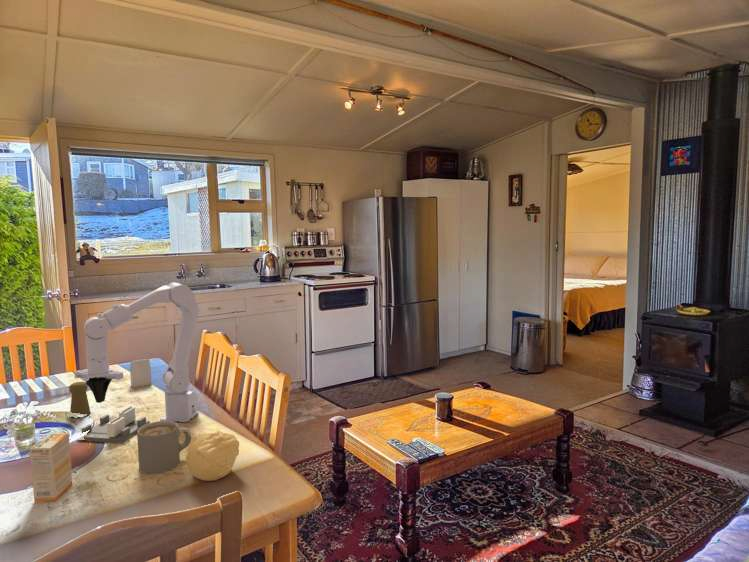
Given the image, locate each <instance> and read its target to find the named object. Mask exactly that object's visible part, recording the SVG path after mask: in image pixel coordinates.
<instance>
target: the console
mask: <svg viewBox="0 0 749 562" xmlns="http://www.w3.org/2000/svg"><path fill="white" fill-rule="evenodd" d="M114 419H115V418H111V417H110V414H105V415H103V416H101V417H99V423H98V424H97V425H95V426H93V425H92V424H86V425H84V426H83V427H82V428H80V429H81V430H80V431H81V434H82V433H83V432H86V431H88V430H90V431H89V432H88V433H87V435H86V436H84V439H85V440H89V441H88V442H95V443H110V444H111V443H112V444H123V443H124V442H126V441H127V440H129V439H130V438H132V437H134V436H135V435H136V434H137V430H138V429H139V428H140V427H142V426H143V425H146V424H149V423H151V422H150V420H147V416H141V418H139V419H136V420H134V421H133V422H131V423H129V424H128V425H126V426H125V428H124V429H123V430H121V431H120V434H118V435H117V436H115V437H108V429H107V423H109V422H111V421H112V420H114ZM92 426H93V427H92Z"/></svg>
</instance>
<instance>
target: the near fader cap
mask: <svg viewBox="0 0 749 562" xmlns="http://www.w3.org/2000/svg"><path fill="white" fill-rule="evenodd" d="M124 428H125V418H124V417H121V416H120V417H119V416H117V417H116V418H114V420H112V421H111V422H109V423H107V429H108V437H115V436H117V435H118V434H120V431H121V430H123V429H124Z"/></svg>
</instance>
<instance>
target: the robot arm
mask: <svg viewBox="0 0 749 562" xmlns="http://www.w3.org/2000/svg"><path fill="white" fill-rule="evenodd" d="M158 303H166V304H170V303H172V304H174V305H175V307H177V308H178V309H179V311H180V312H181V316H180V320H179V325H178V329H177V334H176V339H175V344H174V349H173V353H172V358H171V359H170V361H169V363H168V366H167V368H166V370H165V371H164V373H163V375H162V381H163V383H164V384H165V385H166V386H165V389H164V403H165V404H164V408H165V415H164V416H162V417H161V418H160V419H159V421H173V422H177V421H179V422H178V423H188V422H190V421H191V420H192V419H193V418H195V417H196V416H197V415H199V414H200V412H199V411H198V410H199V409H198V395H197V393H196V392H195V391H193V390H190V389H189V387H190V384H191V383H190V376H189V375H190V374H189V373H190V368H189V360H190V355H191V350H192V348H193V347H192V346H193V341H194V337H195V333H196V328H197V324H198V318H199V313H200V307H199V305H198V302H197V300H196V297H195V292H194V291H193V290H192V289H191V288H190V287H189V286H188V285H185V284H181V283H180V282H178V281H176V282H175V281H174V282H173V281H172V282H169V283H168V284H165V285H162V286H159V287H158V288H156V289H155V290H153V291H151V292H149V293H147V294H145V295H144V296H142V297H140V298H138V299H136V300H134V301H133V302H131V303H130V304H124V303H120V304H117V303H116V304H113V305H112V308H110V309H108V310H106V311H104V312H103V313H101V312H98V313H97V314H96V316H91V317H89V318H88V319H86V321H85V322H84V325H83V328H82V329H83V332H84V333H85V356H86V369H78V370H75V371H74V372H73V373H74V378H75V379H80V378H84V379H88V380H86V382H85V383H86V384H87V386H88V388H89V389H90V390H91V392H92V393H91V394H93V398H94V400H95V402H96V403H99V404H101V403H103V402H104V401H106V396H107V392H108V387H109V386H110V384H111V382H112V380H116V381H120V380H122V379H124V372H123V371H119V370H112V369H110V361H109V360H110V359H109V358H110V357H109V346H108V345H109V344H108V343H109V342H108V340H107V335H108V332H109V331H112V330H115V329H117V328H119V327H120V326H122V325H124V324H126V323H128V322H130V321H132V320H133V317H134V314H137V313H139V312H141V311H143V310H146V309H147V308H150V307H152V306H154V305H156V304H158ZM198 413H199V414H198ZM196 414H197V415H196ZM195 415H196V416H195ZM194 416H195V417H194ZM191 418H192V419H191ZM190 419H191V420H190ZM187 421H188V422H187Z"/></svg>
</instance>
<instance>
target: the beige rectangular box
mask: <svg viewBox="0 0 749 562" xmlns="http://www.w3.org/2000/svg"><path fill="white" fill-rule="evenodd" d="M129 368H130V369H129V372H130V373H129V374H130V377H129V378H130V386H131V387H132V388H133V389H134V388H139V386H140V387H145V386H150V385H149V384H151V385H152V384H153V382H152V381H153V380H152V369H151V362H150V358H144V359H136V360H131V361H130V366H129ZM144 385H145V386H144Z"/></svg>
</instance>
